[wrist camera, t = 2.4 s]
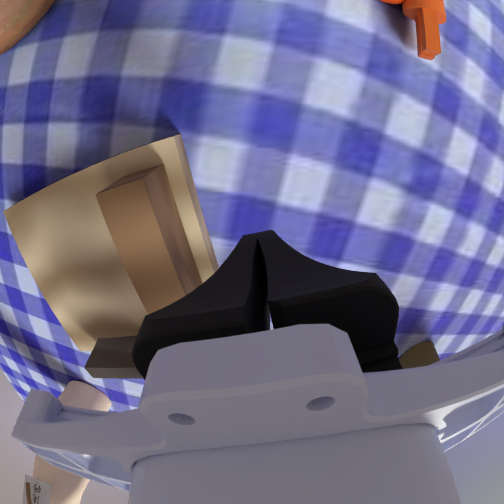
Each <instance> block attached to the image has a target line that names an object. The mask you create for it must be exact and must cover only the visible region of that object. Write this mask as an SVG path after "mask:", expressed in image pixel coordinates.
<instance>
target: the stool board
mask: <svg viewBox="0 0 504 504" xmlns="http://www.w3.org/2000/svg"><path fill="white" fill-rule="evenodd" d="M161 164H164V166H165V169H166V173H167V176H168V179H169V183H170V186H171V189H172V193H173V196H174V199H175V202H176V206H177V209H178V212H179V215H180V218H181V221H182V224H183V227H184V230H185V233H186V236H187V239H188V242H189V245H190V248H191V251H192V254H193V257H194V260H195V263H196V266H197V268H198V271H199V274H200V277H201V280H202V282H203V283H204V282H205V281H206V280H207V279H208V278H209V277H210V276H212V275H213V274H214V273H215V272H216V271H217V270H218V269H219V266H218V263H217V260H216V257H215V254H214V250H213V247H212V244H211V240H210V237H209V234H208V230H207V227H206V224H205V220H204V217H203V213H202V210H201V207H200V203H199V200H198V196H197V193H196V189H195V185H194V182H193V178H192V175H191V171H190V167H189V164H188V160H187V156H186V152H185V149H184V145H183V141H182V137H181V134H178V135H175V136H172V137H168V138H165V139H162V140H159V141H156V142H153V143H150V144H147V145H144V146H141V147H138V148H135V149H132V150H130V151H127V152H124V153H122V154H119V155H116V156H114V157H111V158H109V159H106V160H104V161H101V162H99V163H97V164H94V165H92V166H89V167H87V168H85V169H83V170H80V171H78V172H76V173H74V174H72V175H69V176H67V177H65V178H63V179H61V180H59V181H57V182H55V183H53V184H51V185H49V186H47V187H45V188H43V189H41V190H39V191H38V192H36V193H34V194H32V195H30V196H28V197H27V198H25V199H23V200H21V201H20V202H18V203H16V204H15V205H13V206H11V207H10V208H8V209H7V210H5V211H3V212H4V214H5V217H6V220H7V222H8V225H9V227H10V230H11V232H12V234H13V237H14V239H15V241H16V243H17V246H18V248H19V250H20V252H21V254H22V256H23V258H24V260H25V263H26V265H27V266H28V268H29V270H30V272H31V274H32V276H33V278H34V280H35V282H36V283H37V285H38V287H39V289H40V291H41V292H42V294H43V296H44V297H45V299H46V301H47V302H48V304H49V306H50V307H51V309H52V311H53V312H54V314H55V315H56V317H57V318H58V320H59V321H60V323H61V324H62V326H63V327H64V329H65V330H66V332H67V333H68V335H69V336H70V337H71V339H72V340H73V342H74V343H75V344H76V346H77V347H78V348H79V350H80V351H92V353H91V355H90V357H89V359H88V361H87V363H86V365H85V369H86V370H87V371H88V372H89V374H90V375H91V376H92V377H93V378H143V377H142V375H141V374H140V373H139V372H138V370H137V368H136V367H135V365H134V363H133V360H132V350H133V346H134V343H135V340H136V338H137V335H138V332H139V330H140V327H141V325H142V322H143V320H144V317H145V316H146V315H148V313H147V311H146V309H145V307H144V306H143V304H142V302H141V300H140V298H139V296H138V294H137V292H136V290H135V288H134V286H133V284H132V282H131V279H130V277H129V275H128V273H127V271H126V269H125V267H124V264H123V262H122V260H121V258H120V256H119V253H118V251H117V249H116V246H115V244H114V242H113V239H112V237H111V234H110V232H109V229H108V227H107V224H106V222H105V219H104V217H103V214H102V212H101V209H100V206H99V203H98V201H97V198H96V194H97V193H99V192H100V191H102V190H103V189H105V188H106V187H108V186H109V185H111V184H112V183H114V182H116V181H117V180H119V179H120V178H122V177H124V176H127V175H130V174H132V173H135V172H138V171H142V170H145V169H148V168H151V167H154V166H157V165H161Z"/></svg>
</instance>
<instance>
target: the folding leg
mask: <svg viewBox="0 0 504 504" xmlns="http://www.w3.org/2000/svg"><path fill="white" fill-rule="evenodd" d="M96 198H97V201H98V203H99V206H100V209H101V212H102V214H103V217H104V219H105V222H106V224H107V227H108V229H109V232H110V234H111V237H112V239H113V242H114V244H115V246H116V249H117V251H118V253H119V256H120V258H121V260H122V262H123V264H124V267H125V269H126V271H127V273H128V275H129V277H130V279H131V282H132V284H133V286H134V288H135V290H136V292H137V294H138V296H139V298H140V300H141V302H142V304H143V306H144V307H145V309H146V311H147V313H148V314H151V313H153V312H155V311H157V310H160V309H162V308H164V307H166V306H168V305H170V304H172V303H174V302H176V301H177V300H179V299H181V298H182V297H184V296H186V295H187V294H189V293H190V292H192V291H193V290H194V289H196V288H197V287H198V286H200V285H201V284H202V283H203V282H202V280H201V277H200V274H199V271H198V268H197V266H196V263H195V260H194V257H193V254H192V251H191V248H190V245H189V242H188V239H187V236H186V233H185V230H184V227H183V224H182V221H181V218H180V215H179V212H178V209H177V206H176V202H175V199H174V196H173V193H172V189H171V186H170V183H169V179H168V176H167V173H166V169H165V166H164V164H161V165H157V166H154V167H151V168H148V169H145V170H142V171H138V172H135V173H132V174H130V175H127V176H124V177H122V178H120V179H119V180H117V181H116V182H114V183H112V184H111V185H109V186H108V187H106V188H105V189H103V190H102V191H100V192H99V193H97V194H96Z"/></svg>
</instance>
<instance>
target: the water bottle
mask: <svg viewBox="0 0 504 504" xmlns="http://www.w3.org/2000/svg"><path fill="white" fill-rule="evenodd" d="M58 400H59V401H60V402H61V403H62V405H65V406H71V407H77V408H83V409H91V410H99V411H108V410H109V408H110V407H111V402H110V400H109V398H108V397H107V396H106V395H105V394H104V393H102V392H101V391H100V390H98V389H96V388H95V387H93V386H91V385H89V384H86V383H84V382H80V381H70V382H69V383H68V385H67V386H66V388H65V389H64V391H63V392H62V393H61V395H60V396H59V397H58ZM89 481H90V480H89V479H87V478H84V477H81V476H78V475H76V474H73V473H70V472H68V471H65V470H63V469H60V468H58V467H55V466H53V465H51V464H50V463H48V462H47V461H45V460H44V459H42V458H41V457H39V456H38V455H36V457H35V463H34V470H33V477H30V476H28V475H25V483H24V492H23V504H80V501H81V497H82V493H83V491H84V489H85V487H86V485H87V484H88V482H89Z"/></svg>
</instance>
